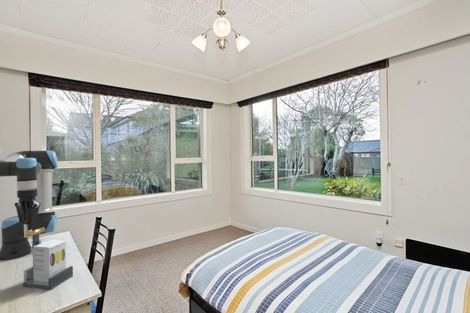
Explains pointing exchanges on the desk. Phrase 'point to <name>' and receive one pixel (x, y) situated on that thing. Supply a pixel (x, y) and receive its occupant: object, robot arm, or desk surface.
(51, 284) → the press bed
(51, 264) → the supplement box
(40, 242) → the tablet
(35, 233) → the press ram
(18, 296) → the desk surface
